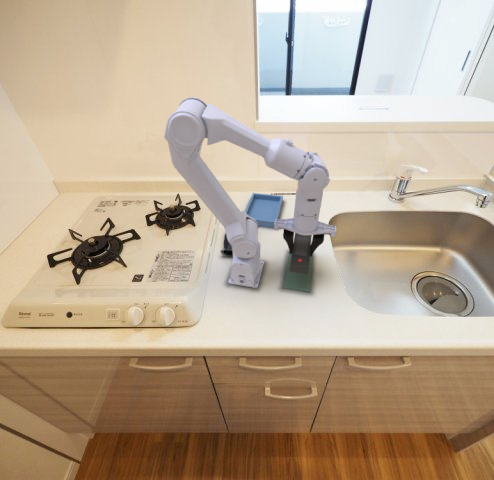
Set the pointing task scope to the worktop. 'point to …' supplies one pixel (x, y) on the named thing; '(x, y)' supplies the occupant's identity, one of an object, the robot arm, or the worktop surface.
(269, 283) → the worktop surface
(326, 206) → the worktop surface
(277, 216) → the box
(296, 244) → the remote
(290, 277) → the mat
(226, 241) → the electronic device
